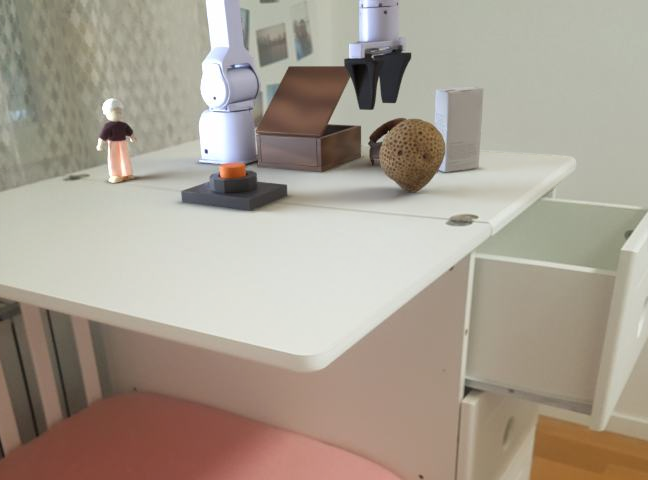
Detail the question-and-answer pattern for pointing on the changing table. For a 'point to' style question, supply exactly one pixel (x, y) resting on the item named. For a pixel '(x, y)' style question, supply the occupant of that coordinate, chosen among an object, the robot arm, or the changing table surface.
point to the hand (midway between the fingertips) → (378, 106)
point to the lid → (304, 101)
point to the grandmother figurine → (116, 142)
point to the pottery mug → (378, 134)
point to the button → (232, 170)
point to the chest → (310, 149)
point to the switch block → (235, 192)
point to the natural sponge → (412, 153)
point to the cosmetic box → (459, 126)
